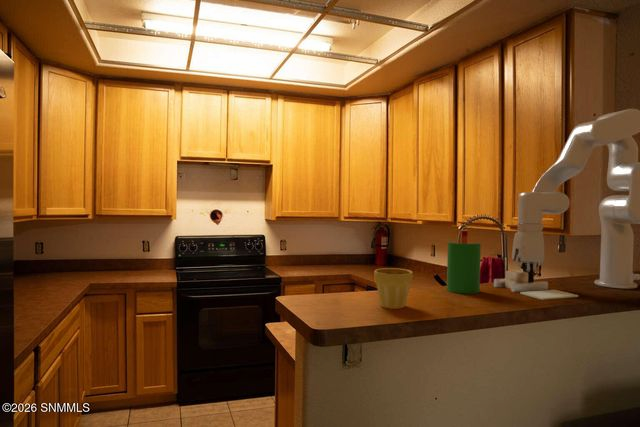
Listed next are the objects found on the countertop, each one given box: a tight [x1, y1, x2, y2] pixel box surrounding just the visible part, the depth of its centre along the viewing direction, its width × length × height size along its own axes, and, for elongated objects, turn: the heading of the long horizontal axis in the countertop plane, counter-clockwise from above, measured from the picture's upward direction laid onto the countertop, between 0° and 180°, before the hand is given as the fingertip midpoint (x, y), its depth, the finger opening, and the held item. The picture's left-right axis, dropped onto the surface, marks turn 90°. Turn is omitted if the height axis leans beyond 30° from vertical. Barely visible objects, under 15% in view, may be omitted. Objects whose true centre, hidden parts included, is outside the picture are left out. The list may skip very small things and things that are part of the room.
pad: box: [519, 289, 579, 301], centre depth 144 cm, size 14×9×1 cm, turn 109°
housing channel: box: [493, 278, 549, 293], centre depth 155 cm, size 14×9×2 cm
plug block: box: [504, 270, 528, 290], centre depth 155 cm, size 5×5×6 cm
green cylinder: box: [446, 229, 482, 295], centre depth 149 cm, size 10×9×20 cm
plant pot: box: [373, 267, 414, 310], centre depth 127 cm, size 10×10×10 cm
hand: (528, 282), depth 156 cm, fingers closed
